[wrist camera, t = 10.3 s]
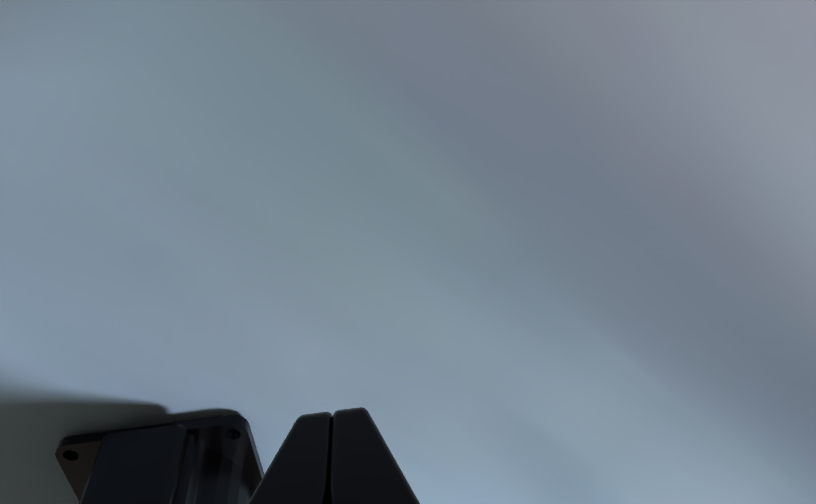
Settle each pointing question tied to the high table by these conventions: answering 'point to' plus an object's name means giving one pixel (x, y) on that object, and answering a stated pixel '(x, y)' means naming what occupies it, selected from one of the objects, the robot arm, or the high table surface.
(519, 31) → the high table surface
